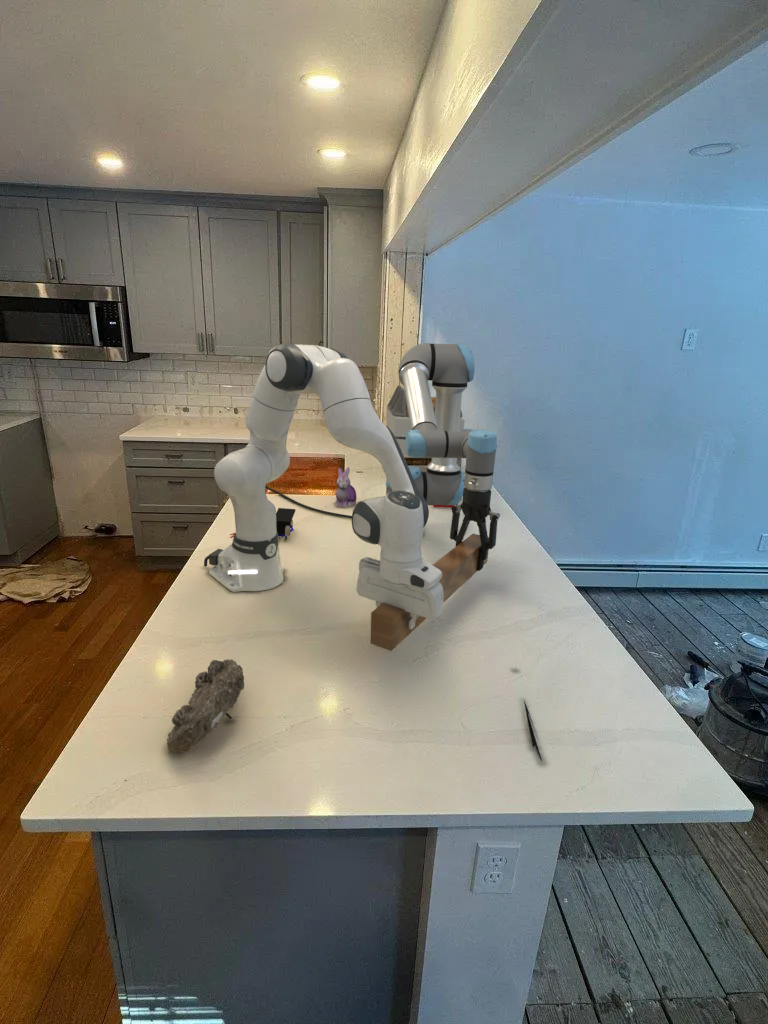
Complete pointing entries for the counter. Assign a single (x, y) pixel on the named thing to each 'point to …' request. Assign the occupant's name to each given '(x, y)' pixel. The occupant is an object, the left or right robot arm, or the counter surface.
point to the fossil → (206, 705)
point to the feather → (532, 731)
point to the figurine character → (284, 522)
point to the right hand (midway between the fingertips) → (469, 566)
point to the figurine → (345, 490)
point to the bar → (455, 572)
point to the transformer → (407, 425)
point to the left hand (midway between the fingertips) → (397, 623)
